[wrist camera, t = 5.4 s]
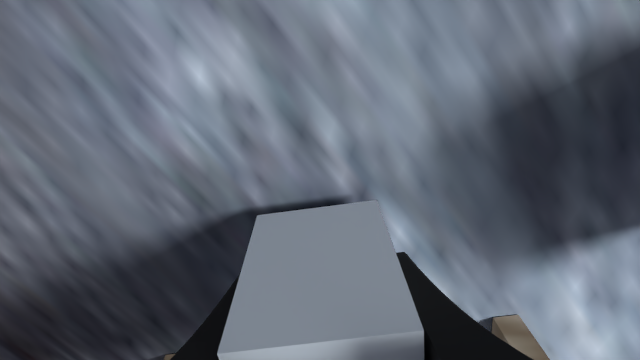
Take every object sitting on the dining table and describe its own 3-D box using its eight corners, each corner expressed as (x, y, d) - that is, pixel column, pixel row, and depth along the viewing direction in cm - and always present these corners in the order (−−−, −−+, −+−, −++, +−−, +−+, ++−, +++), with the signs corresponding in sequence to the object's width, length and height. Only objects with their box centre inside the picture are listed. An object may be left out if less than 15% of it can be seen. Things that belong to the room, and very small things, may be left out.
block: (279, 305, 15) (259, 469, 9) (257, 215, 13) (216, 353, 8) (384, 293, 15) (425, 453, 9) (376, 199, 13) (423, 330, 7)
